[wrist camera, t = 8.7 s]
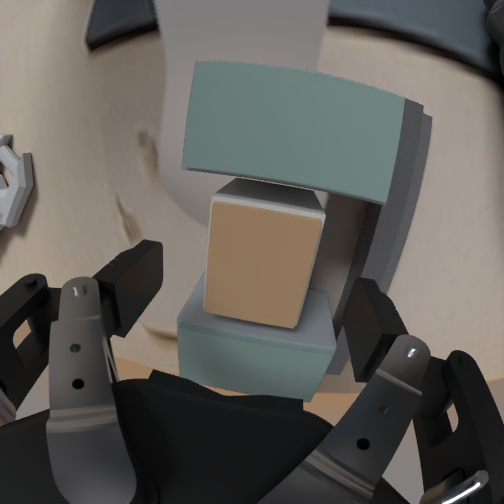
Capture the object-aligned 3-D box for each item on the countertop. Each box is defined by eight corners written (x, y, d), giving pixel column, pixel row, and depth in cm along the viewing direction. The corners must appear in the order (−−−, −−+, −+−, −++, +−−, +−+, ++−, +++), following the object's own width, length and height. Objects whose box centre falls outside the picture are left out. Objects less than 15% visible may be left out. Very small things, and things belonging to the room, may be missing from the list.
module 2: (236, 177, 17) (208, 198, 11) (313, 190, 17) (327, 218, 11) (226, 261, 20) (200, 313, 14) (295, 273, 19) (296, 332, 13)
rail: (387, 101, 14) (401, 96, 11) (428, 117, 13) (446, 116, 11) (320, 352, 22) (322, 373, 19) (354, 355, 22) (359, 376, 19)
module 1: (226, 85, 15) (191, 58, 9) (367, 110, 14) (409, 96, 8) (215, 159, 17) (177, 170, 11) (354, 184, 16) (389, 208, 10)
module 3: (205, 270, 20) (173, 323, 14) (326, 291, 19) (337, 352, 13) (202, 322, 22) (177, 379, 16) (309, 342, 21) (311, 404, 15)
